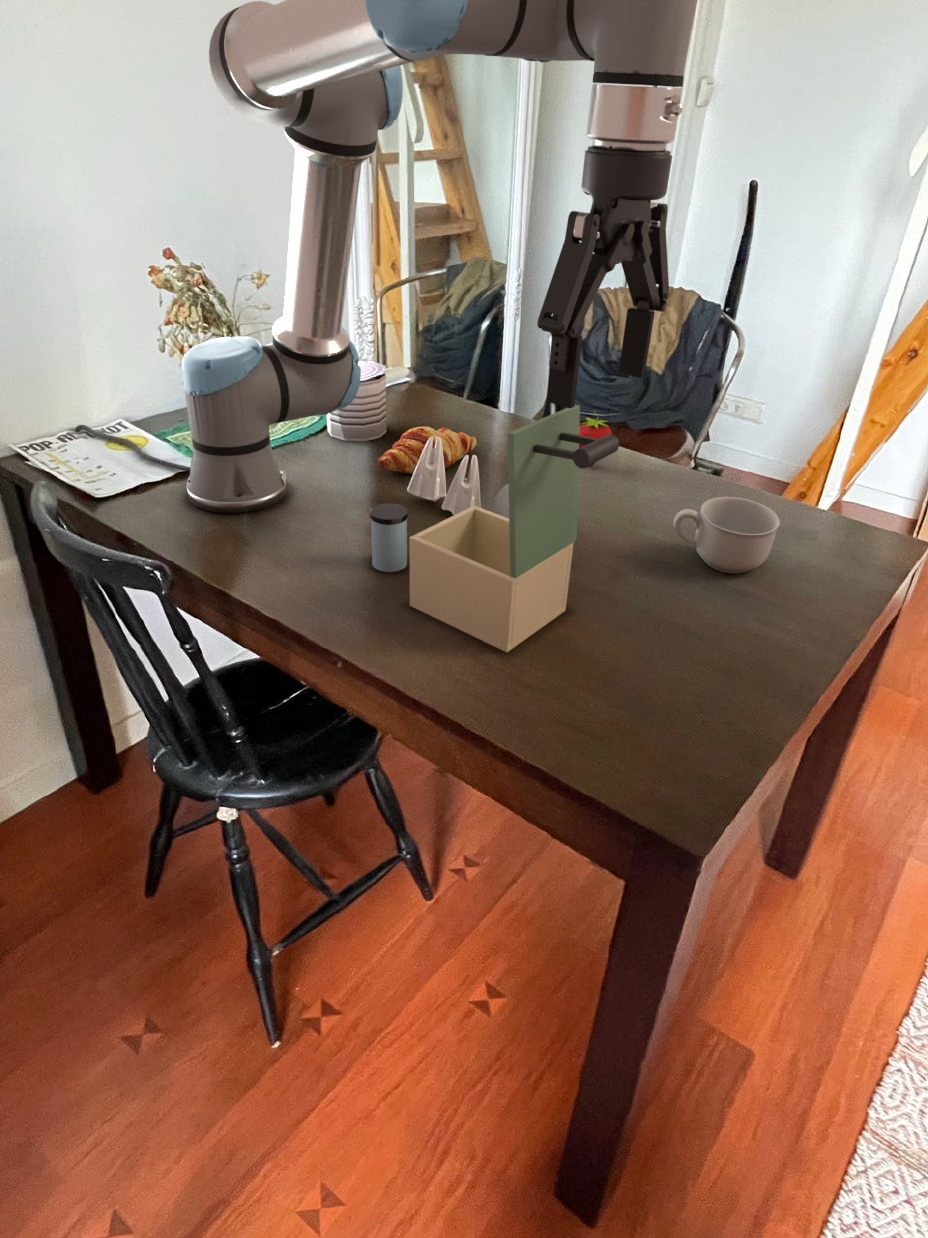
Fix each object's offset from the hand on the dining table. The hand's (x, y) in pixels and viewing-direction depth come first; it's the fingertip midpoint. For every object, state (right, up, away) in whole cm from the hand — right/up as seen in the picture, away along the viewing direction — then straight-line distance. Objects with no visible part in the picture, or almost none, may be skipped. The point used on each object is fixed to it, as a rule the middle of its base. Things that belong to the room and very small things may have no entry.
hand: (597, 388), depth 83 cm
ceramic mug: (-3, -11, +41) cm, 42 cm away
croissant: (-19, +4, +63) cm, 66 cm away
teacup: (+23, -15, +36) cm, 45 cm away
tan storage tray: (-10, -22, +23) cm, 33 cm away
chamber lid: (-5, -9, +10) cm, 14 cm away
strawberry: (+9, +4, +64) cm, 65 cm away
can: (-34, +13, +75) cm, 83 cm away
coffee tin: (-24, -15, +32) cm, 43 cm away
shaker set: (-17, -6, +48) cm, 51 cm away
